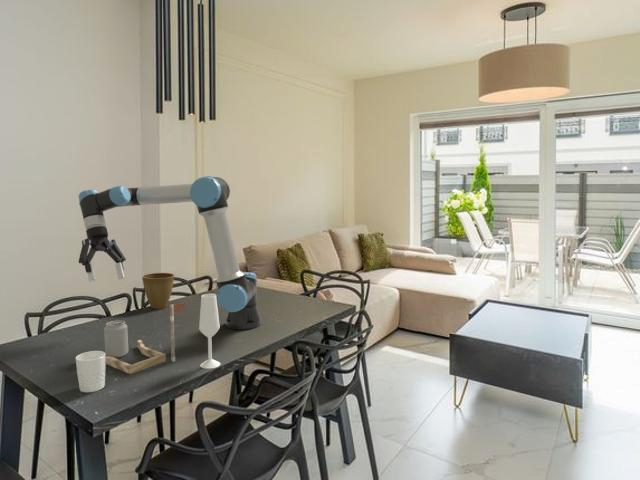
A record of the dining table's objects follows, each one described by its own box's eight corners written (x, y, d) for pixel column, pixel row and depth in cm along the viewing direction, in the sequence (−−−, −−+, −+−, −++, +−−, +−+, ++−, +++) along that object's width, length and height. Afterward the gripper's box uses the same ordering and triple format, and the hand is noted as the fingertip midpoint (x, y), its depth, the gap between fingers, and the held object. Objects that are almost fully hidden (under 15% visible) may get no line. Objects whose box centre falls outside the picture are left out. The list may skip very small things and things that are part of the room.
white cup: (98, 379, 139) (96, 348, 138) (112, 386, 135) (110, 354, 134) (72, 389, 133) (70, 356, 132) (86, 396, 129) (84, 362, 127)
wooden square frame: (186, 357, 158) (184, 302, 155) (125, 380, 139) (122, 317, 137) (147, 343, 171) (145, 292, 168) (87, 363, 152) (84, 305, 150)
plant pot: (156, 313, 212) (155, 279, 210) (136, 308, 219) (135, 276, 217) (181, 305, 224) (180, 274, 222) (162, 301, 232) (161, 271, 230)
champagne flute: (222, 360, 155) (220, 293, 152) (218, 368, 149) (216, 298, 146) (202, 360, 155) (200, 293, 152) (198, 368, 148) (196, 298, 145)
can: (119, 359, 155) (118, 326, 154) (100, 358, 157) (98, 324, 155) (132, 352, 162) (131, 319, 161) (114, 350, 164) (113, 318, 162)
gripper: (114, 232, 191) (126, 280, 188) (60, 230, 168) (72, 284, 165) (127, 226, 188) (139, 275, 185) (74, 223, 165) (86, 278, 162)
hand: (107, 279), depth 175 cm, fingers open, 13 cm apart
